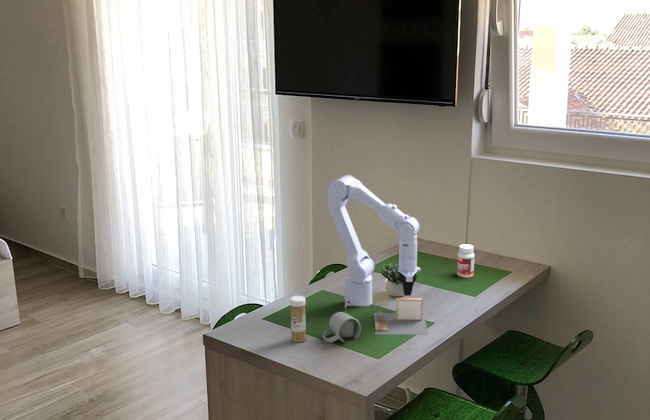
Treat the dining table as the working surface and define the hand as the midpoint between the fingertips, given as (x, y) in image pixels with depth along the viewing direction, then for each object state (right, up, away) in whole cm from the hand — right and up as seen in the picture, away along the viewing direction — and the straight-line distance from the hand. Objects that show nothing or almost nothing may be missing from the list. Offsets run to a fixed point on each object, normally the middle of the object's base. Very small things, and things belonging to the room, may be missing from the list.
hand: (407, 294), depth 226 cm
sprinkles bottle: (-35, -12, -17) cm, 40 cm away
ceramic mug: (-22, -11, -17) cm, 30 cm away
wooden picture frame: (0, -7, -6) cm, 9 cm away
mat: (-3, -9, -9) cm, 13 cm away
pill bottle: (+26, +3, +33) cm, 42 cm away
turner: (-9, -8, -8) cm, 15 cm away
